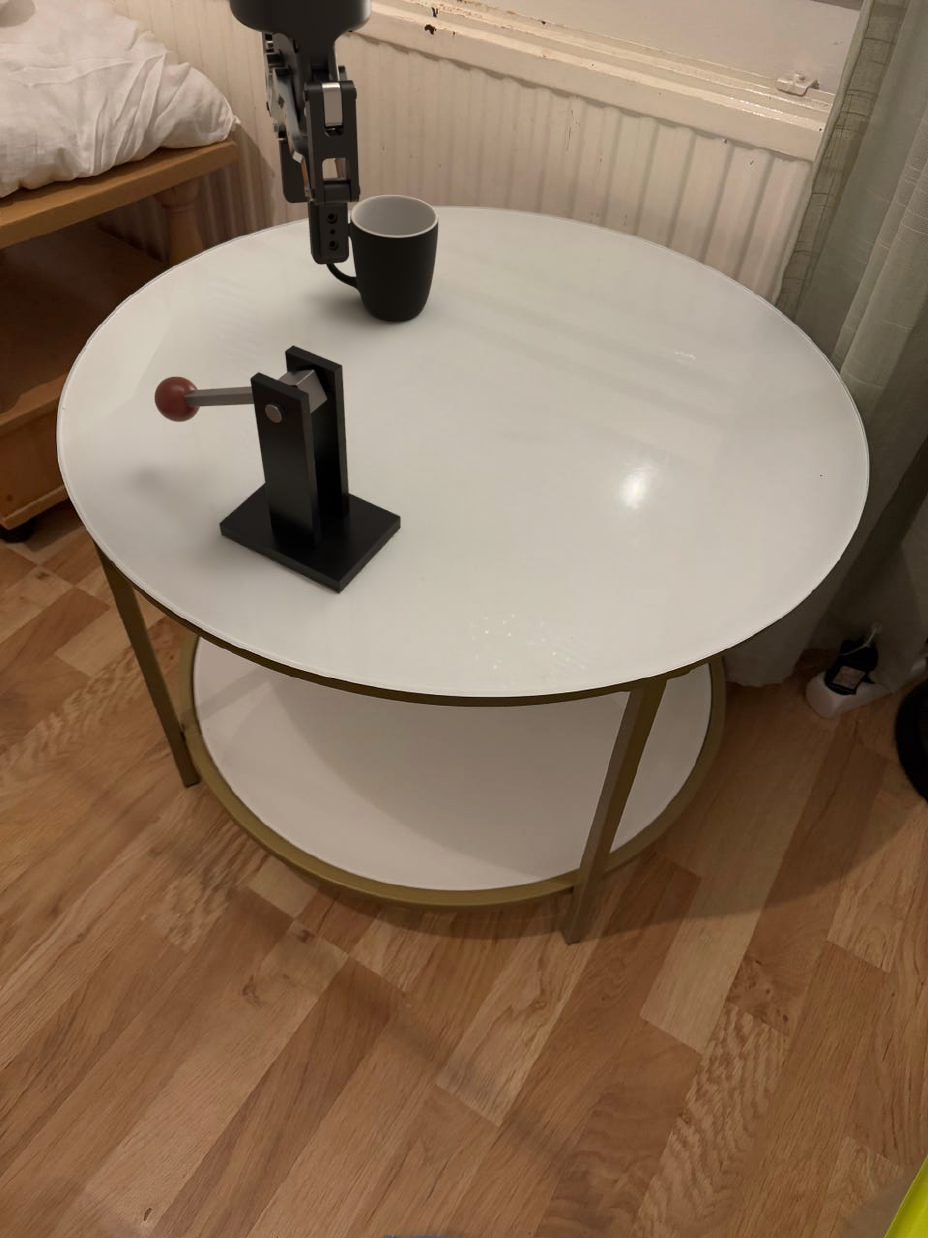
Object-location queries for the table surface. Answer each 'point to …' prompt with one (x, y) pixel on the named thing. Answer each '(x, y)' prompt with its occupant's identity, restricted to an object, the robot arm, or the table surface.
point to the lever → (224, 395)
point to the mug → (392, 255)
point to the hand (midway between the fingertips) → (315, 229)
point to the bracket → (307, 483)
